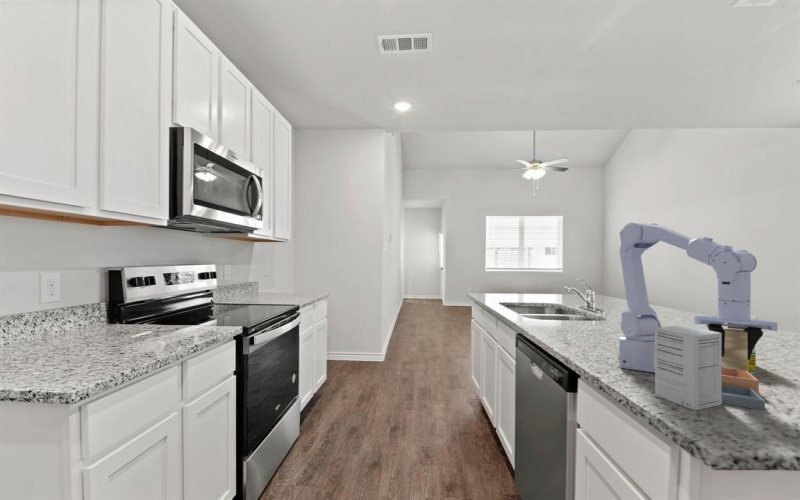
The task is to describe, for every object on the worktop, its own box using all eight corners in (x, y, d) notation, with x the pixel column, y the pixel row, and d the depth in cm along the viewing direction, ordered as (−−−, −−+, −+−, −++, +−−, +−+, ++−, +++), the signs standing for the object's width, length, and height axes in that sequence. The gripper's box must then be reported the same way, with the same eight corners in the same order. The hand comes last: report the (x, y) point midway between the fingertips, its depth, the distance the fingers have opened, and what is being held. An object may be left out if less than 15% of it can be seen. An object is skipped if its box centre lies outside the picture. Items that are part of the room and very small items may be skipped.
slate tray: (714, 401, 84) (714, 392, 84) (705, 389, 91) (706, 381, 91) (764, 410, 80) (764, 400, 80) (751, 396, 87) (751, 388, 87)
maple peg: (724, 368, 85) (724, 330, 85) (720, 363, 88) (720, 327, 88) (747, 371, 83) (747, 332, 83) (741, 366, 86) (742, 329, 86)
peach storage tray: (702, 388, 92) (702, 372, 92) (690, 370, 107) (690, 356, 107) (758, 397, 87) (758, 380, 87) (737, 376, 101) (737, 362, 101)
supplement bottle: (733, 367, 109) (733, 336, 109) (757, 372, 105) (758, 340, 105) (728, 370, 106) (728, 338, 107) (752, 376, 102) (752, 342, 102)
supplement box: (680, 390, 91) (680, 324, 91) (723, 405, 82) (723, 332, 82) (653, 395, 88) (653, 326, 88) (695, 411, 79) (695, 335, 79)
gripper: (698, 300, 86) (698, 356, 86) (783, 305, 78) (783, 366, 78) (692, 297, 92) (692, 349, 92) (770, 301, 85) (770, 358, 84)
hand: (733, 357), depth 86 cm, fingers closed on maple peg, 4 cm apart
